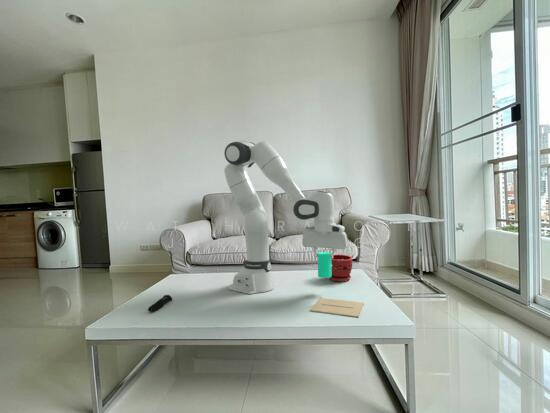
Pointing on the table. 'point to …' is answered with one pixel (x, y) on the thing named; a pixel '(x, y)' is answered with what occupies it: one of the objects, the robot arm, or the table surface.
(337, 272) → the plant pot
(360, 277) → the table surface
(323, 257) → the candle
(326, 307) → the tan flat wooden board
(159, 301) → the electric trimmer
